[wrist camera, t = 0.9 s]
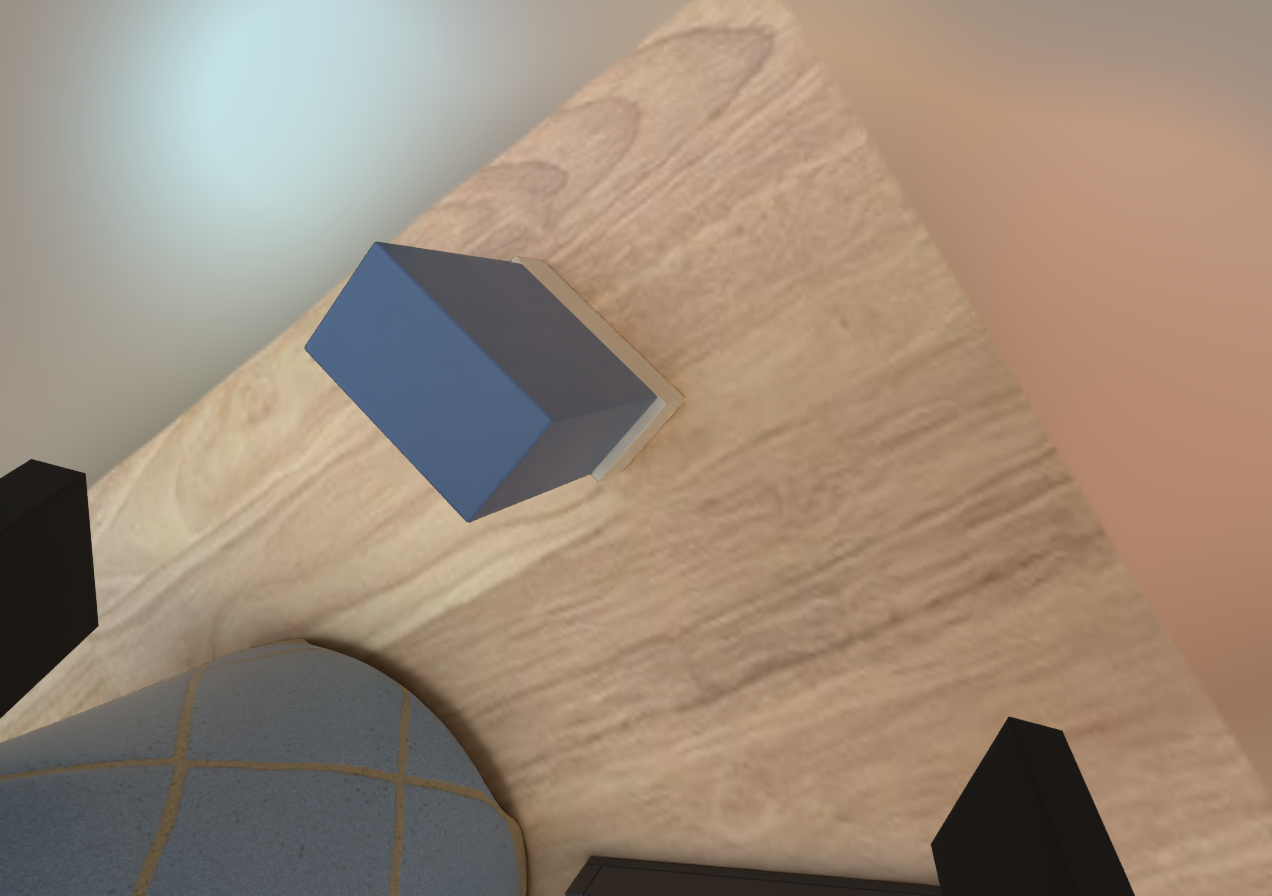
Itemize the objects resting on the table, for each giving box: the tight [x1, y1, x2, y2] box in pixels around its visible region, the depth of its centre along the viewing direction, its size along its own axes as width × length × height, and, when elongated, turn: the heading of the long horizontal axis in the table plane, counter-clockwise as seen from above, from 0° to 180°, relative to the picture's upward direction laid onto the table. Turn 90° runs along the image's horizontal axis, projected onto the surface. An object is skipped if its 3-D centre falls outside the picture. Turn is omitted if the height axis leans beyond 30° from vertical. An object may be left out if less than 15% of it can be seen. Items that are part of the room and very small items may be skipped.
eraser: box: [305, 242, 686, 522], centre depth 29 cm, size 8×4×11 cm, turn 48°
